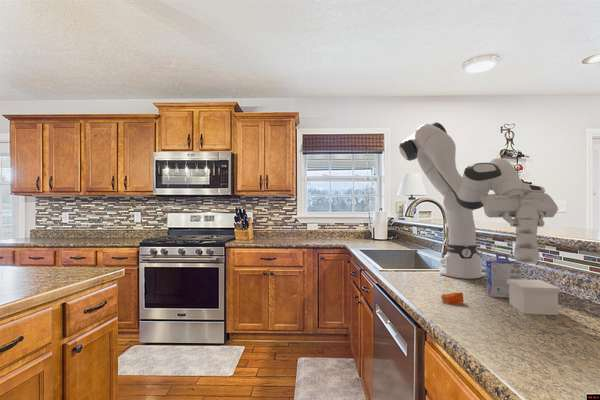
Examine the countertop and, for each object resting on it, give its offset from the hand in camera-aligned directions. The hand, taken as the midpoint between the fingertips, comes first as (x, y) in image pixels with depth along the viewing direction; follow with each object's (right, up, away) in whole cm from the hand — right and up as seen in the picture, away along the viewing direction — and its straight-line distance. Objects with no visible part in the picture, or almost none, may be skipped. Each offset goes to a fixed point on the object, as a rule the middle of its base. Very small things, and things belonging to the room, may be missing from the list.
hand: (527, 225), depth 96 cm
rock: (-19, -27, +9) cm, 34 cm away
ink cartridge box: (+2, -26, +15) cm, 30 cm away
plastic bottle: (0, -12, +1) cm, 12 cm away
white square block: (+2, -26, +1) cm, 26 cm away
